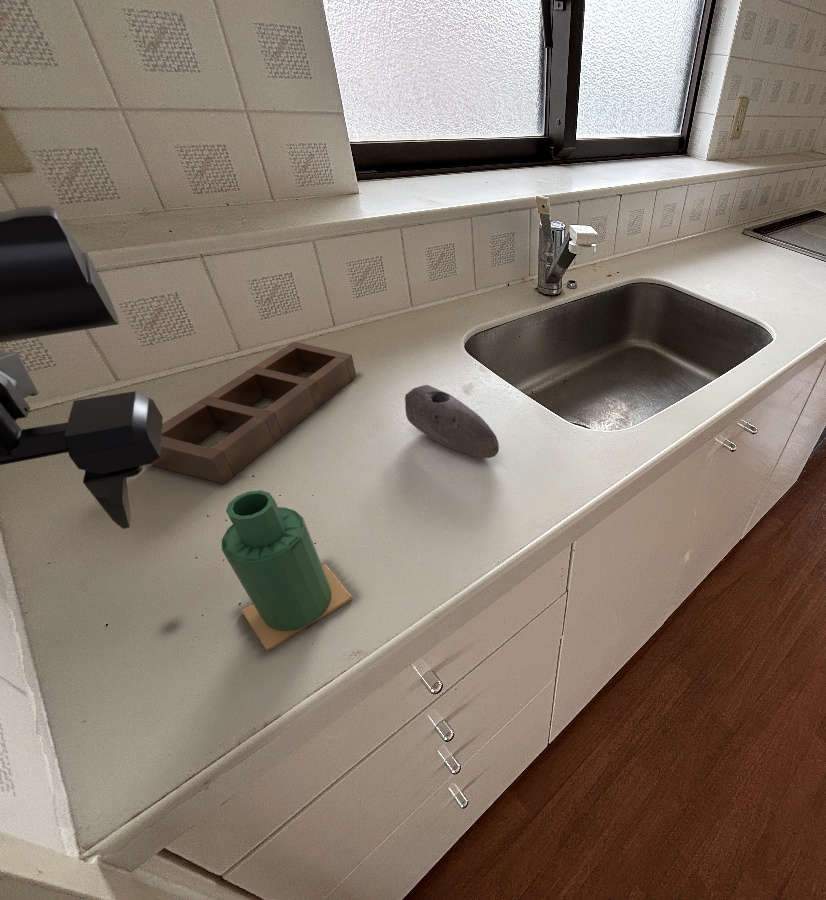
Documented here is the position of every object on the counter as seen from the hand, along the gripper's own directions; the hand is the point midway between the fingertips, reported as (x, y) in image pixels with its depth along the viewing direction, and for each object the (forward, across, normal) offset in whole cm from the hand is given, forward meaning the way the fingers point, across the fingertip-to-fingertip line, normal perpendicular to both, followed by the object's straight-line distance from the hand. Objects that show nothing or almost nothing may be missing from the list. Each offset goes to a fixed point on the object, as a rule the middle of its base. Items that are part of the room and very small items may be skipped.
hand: (47, 544), depth 37 cm
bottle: (+13, -13, +3) cm, 18 cm away
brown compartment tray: (+13, -13, -32) cm, 37 cm away
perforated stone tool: (+13, -35, -15) cm, 40 cm away
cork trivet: (+13, -13, +3) cm, 19 cm away
